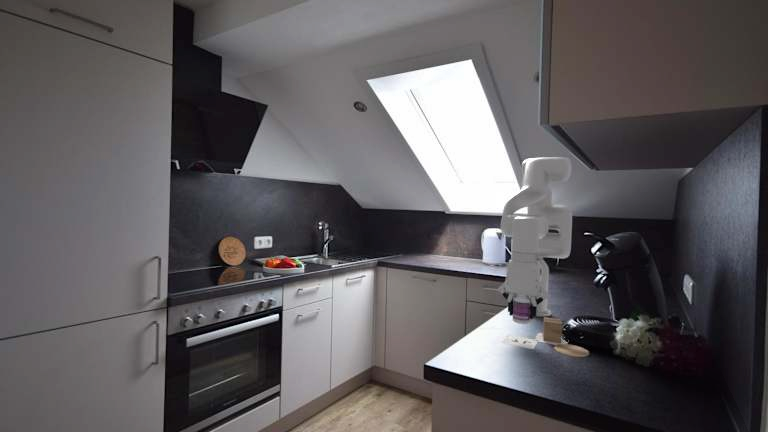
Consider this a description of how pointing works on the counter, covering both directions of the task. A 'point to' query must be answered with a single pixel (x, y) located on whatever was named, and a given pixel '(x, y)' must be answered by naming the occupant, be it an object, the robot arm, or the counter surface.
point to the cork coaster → (571, 350)
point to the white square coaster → (520, 342)
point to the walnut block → (552, 330)
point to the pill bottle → (521, 309)
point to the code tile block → (540, 339)
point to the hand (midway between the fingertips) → (521, 315)
